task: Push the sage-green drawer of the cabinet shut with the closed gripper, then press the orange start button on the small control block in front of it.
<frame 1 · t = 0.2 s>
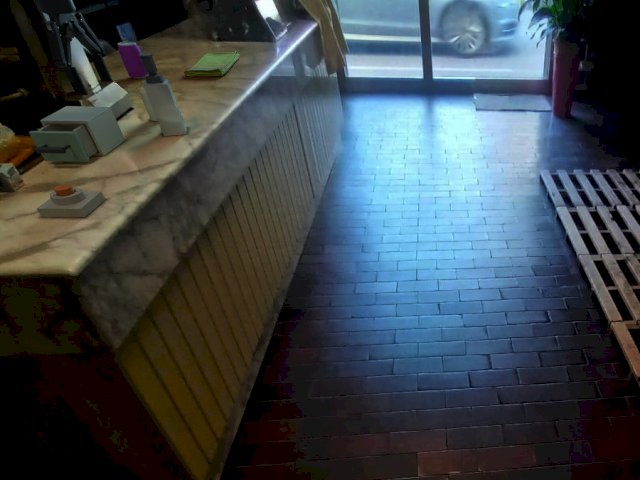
hand: (95, 88, 143), 17 cm above the worktop, tool pointing down, fingers open, 13 cm apart
cabinet: (93, 147, 157), on the worktop
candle: (159, 119, 177), on the worktop
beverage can: (140, 77, 213), on the worktop
control block: (74, 208, 128), on the worktop
dish towel: (214, 67, 229), on the worktop
soap dispenser: (175, 131, 170), on the worktop
start button: (64, 190, 125), point 4 cm above the worktop, slide at 0.1 cm
drawer: (66, 142, 146), point 5 cm above the worktop, slide at 6.0 cm
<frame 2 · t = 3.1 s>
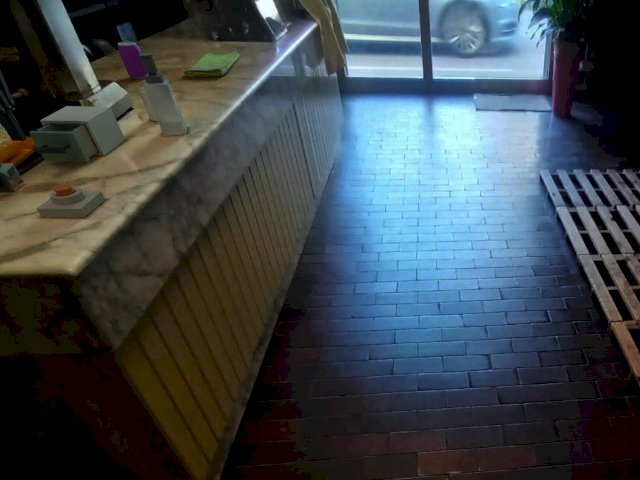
hand: (19, 139, 131), 11 cm above the worktop, tool pointing down, fingers closed
nothing on the worktop moved.
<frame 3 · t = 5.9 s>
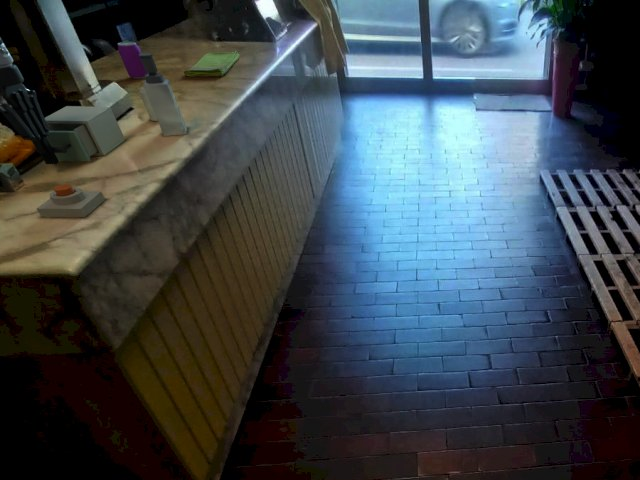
hand: (52, 163, 141), 2 cm above the worktop, tool pointing down, fingers closed
drawer: (67, 141, 147), point 5 cm above the worktop, slide at 5.5 cm, touching gripper
everything else where it was.
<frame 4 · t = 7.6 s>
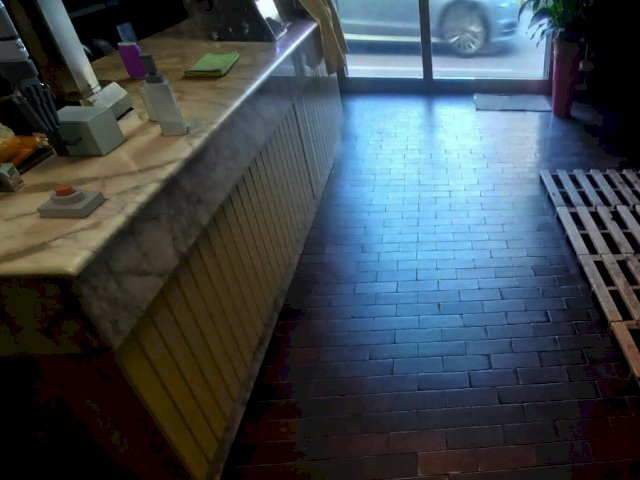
hand: (64, 155, 145), 2 cm above the worktop, tool pointing down, fingers closed
drawer: (78, 135, 151), point 5 cm above the worktop, slide at 0.0 cm, touching cabinet, gripper
everything else where it was.
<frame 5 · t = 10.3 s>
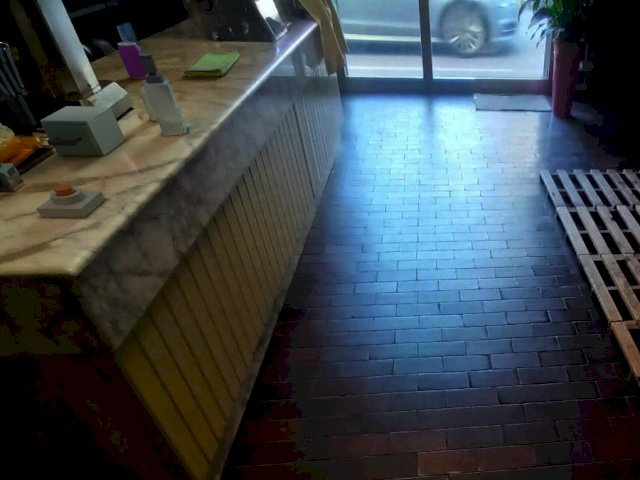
hand: (29, 124, 131), 14 cm above the worktop, tool pointing down, fingers closed
drawer: (78, 135, 151), point 5 cm above the worktop, slide at 0.0 cm, touching cabinet
everything else where it was.
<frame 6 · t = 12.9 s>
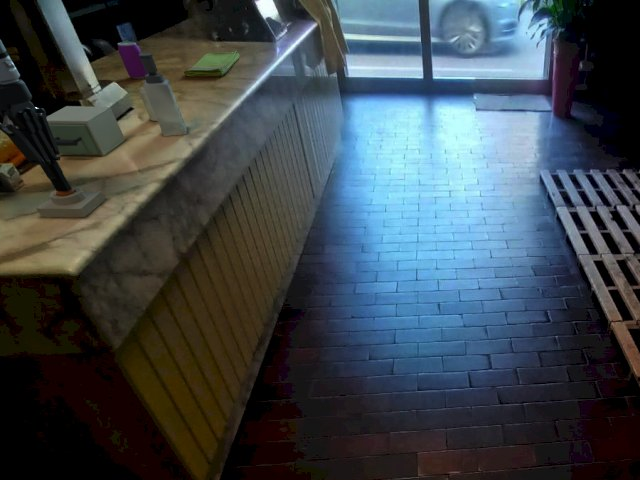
hand: (64, 189, 125), 5 cm above the worktop, tool pointing down, fingers closed
start button: (66, 194, 125), point 4 cm above the worktop, slide at -0.8 cm, touching gripper
everything else where it was.
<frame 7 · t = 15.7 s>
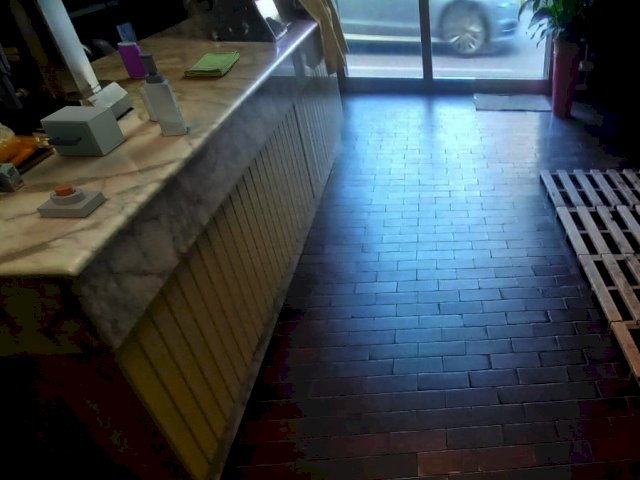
hand: (15, 107, 122), 19 cm above the worktop, tool pointing down, fingers closed
start button: (64, 190, 125), point 4 cm above the worktop, slide at 0.1 cm
everything else where it was.
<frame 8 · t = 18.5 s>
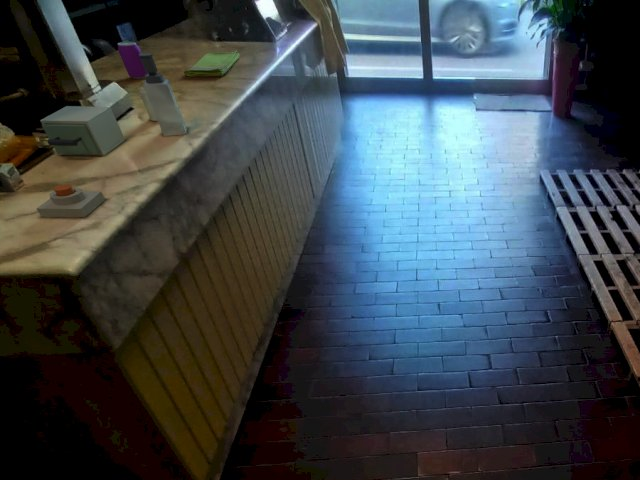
nothing on the worktop moved.
at the end: drawer slide at 0.0 cm; start button pushed in 1.0 cm at the most during the clip, back to where it started at the end; start button slide at 0.1 cm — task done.
